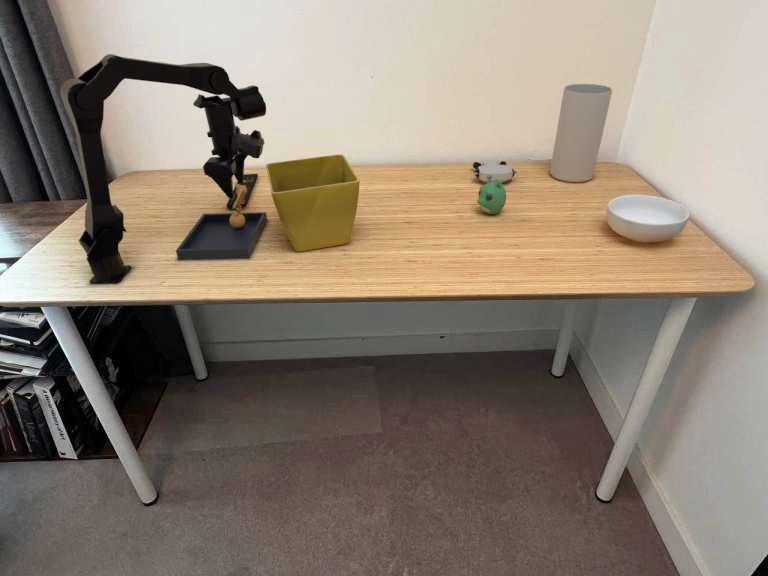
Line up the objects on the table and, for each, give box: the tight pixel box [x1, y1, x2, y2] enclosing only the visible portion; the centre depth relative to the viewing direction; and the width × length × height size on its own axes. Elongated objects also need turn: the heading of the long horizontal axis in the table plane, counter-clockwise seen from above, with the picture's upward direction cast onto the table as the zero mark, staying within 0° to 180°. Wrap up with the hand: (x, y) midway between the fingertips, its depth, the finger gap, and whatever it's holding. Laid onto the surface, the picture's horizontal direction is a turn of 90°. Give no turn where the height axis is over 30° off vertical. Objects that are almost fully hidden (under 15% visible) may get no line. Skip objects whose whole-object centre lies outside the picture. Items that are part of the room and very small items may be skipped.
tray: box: [175, 211, 268, 261], centre depth 118 cm, size 20×17×2 cm
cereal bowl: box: [606, 194, 690, 244], centre depth 111 cm, size 17×17×7 cm
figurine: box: [229, 182, 247, 229], centre depth 119 cm, size 8×6×12 cm
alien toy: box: [476, 175, 507, 215], centre depth 123 cm, size 7×8×10 cm
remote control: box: [225, 173, 259, 211], centre depth 142 cm, size 5×24×1 cm, turn 4°
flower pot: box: [265, 153, 360, 253], centre depth 113 cm, size 19×19×17 cm
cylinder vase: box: [549, 83, 613, 183], centre depth 139 cm, size 12×12×25 cm
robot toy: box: [470, 158, 519, 184], centre depth 145 cm, size 12×4×15 cm
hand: (236, 190), depth 116 cm, fingers open, 9 cm apart
